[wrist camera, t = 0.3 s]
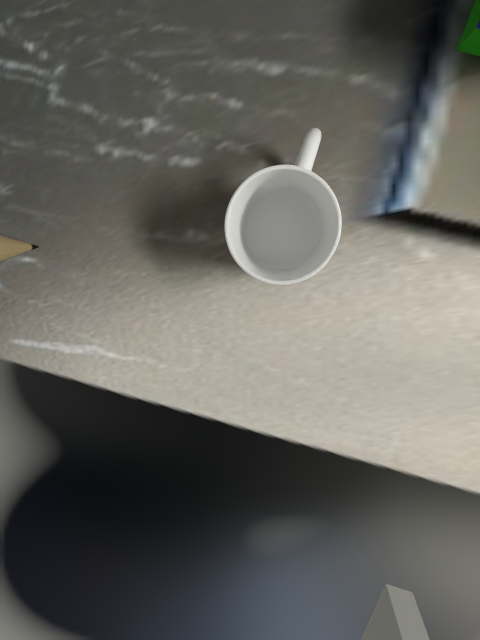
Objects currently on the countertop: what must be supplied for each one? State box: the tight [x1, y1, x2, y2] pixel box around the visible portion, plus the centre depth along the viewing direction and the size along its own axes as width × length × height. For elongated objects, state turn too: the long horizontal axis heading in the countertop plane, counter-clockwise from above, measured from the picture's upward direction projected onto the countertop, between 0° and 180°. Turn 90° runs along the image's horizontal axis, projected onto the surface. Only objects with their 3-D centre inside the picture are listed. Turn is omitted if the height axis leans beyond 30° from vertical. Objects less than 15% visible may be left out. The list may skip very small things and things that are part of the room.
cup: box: [224, 128, 342, 285], centre depth 30 cm, size 8×12×10 cm
